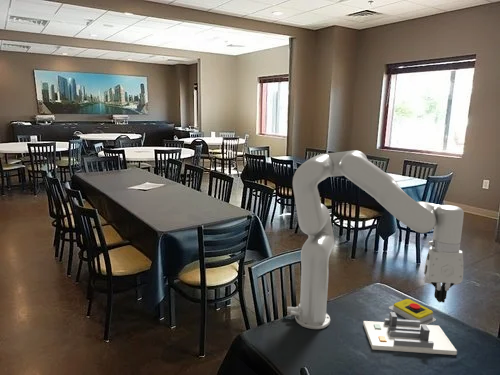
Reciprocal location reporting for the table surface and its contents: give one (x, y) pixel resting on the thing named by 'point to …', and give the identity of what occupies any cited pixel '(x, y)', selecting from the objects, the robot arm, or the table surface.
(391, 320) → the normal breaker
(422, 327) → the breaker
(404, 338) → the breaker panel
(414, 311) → the emergency button
